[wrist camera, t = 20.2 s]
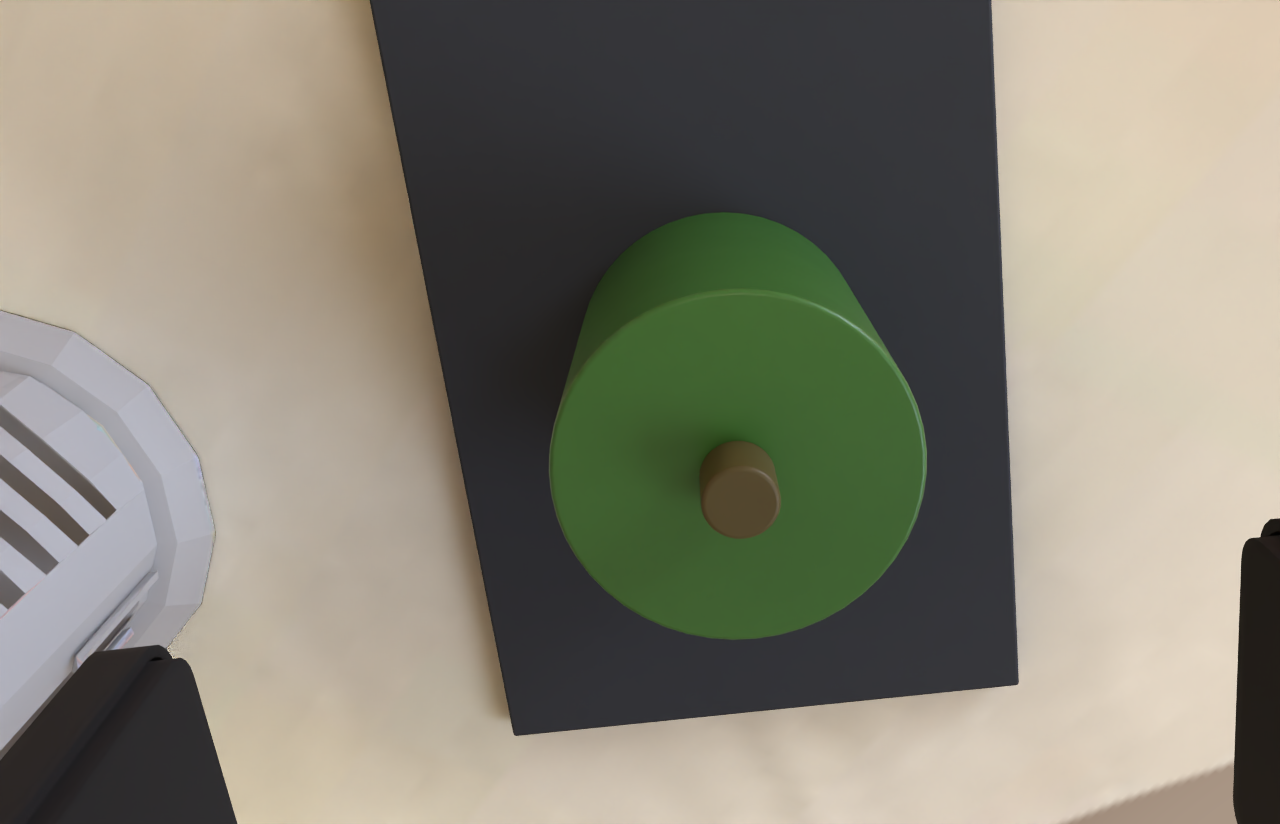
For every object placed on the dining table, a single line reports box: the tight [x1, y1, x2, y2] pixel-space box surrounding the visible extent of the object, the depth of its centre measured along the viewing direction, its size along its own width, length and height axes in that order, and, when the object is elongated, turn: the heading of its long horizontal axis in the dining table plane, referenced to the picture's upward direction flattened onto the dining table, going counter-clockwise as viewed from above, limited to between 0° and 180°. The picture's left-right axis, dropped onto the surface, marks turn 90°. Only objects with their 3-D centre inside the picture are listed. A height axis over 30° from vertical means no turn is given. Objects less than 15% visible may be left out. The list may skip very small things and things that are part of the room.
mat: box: [370, 0, 1019, 736], centre depth 26 cm, size 12×20×1 cm, turn 8°
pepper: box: [549, 212, 927, 640], centre depth 22 cm, size 6×6×8 cm
